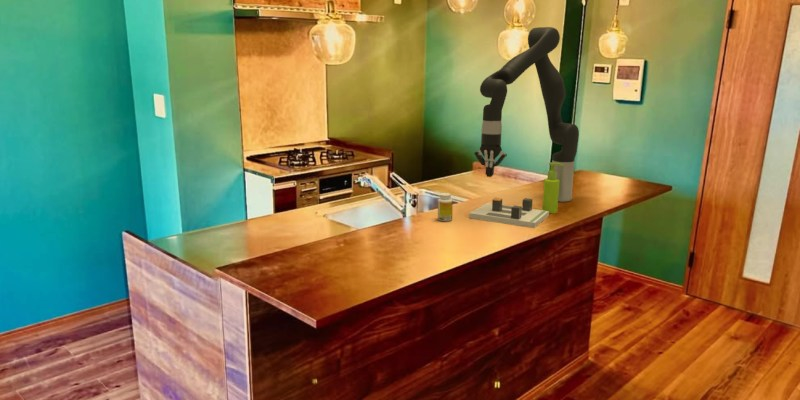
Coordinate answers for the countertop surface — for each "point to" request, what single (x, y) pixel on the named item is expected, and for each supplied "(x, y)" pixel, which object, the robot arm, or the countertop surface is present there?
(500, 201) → the breaker mid
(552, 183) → the soap dispenser
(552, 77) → the robot arm
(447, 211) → the supplement bottle
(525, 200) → the breaker
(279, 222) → the countertop surface
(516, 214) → the block
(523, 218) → the breaker panel
